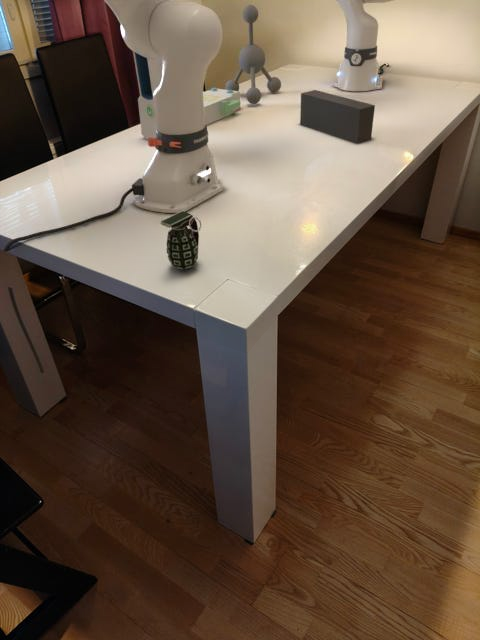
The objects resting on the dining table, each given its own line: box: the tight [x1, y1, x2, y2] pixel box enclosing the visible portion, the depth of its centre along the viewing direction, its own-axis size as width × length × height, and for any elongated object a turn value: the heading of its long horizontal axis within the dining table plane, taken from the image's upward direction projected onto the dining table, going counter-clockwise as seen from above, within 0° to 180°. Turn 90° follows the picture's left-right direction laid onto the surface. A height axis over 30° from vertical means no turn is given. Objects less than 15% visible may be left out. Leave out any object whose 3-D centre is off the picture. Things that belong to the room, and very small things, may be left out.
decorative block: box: [203, 87, 241, 126], centre depth 168 cm, size 26×6×20 cm
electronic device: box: [132, 51, 163, 140], centre depth 143 cm, size 12×8×30 cm, turn 47°
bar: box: [299, 89, 376, 145], centre depth 147 cm, size 26×6×10 cm, turn 34°
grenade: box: [159, 211, 202, 271], centre depth 88 cm, size 7×6×10 cm
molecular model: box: [224, 4, 282, 105], centre depth 179 cm, size 24×22×30 cm
